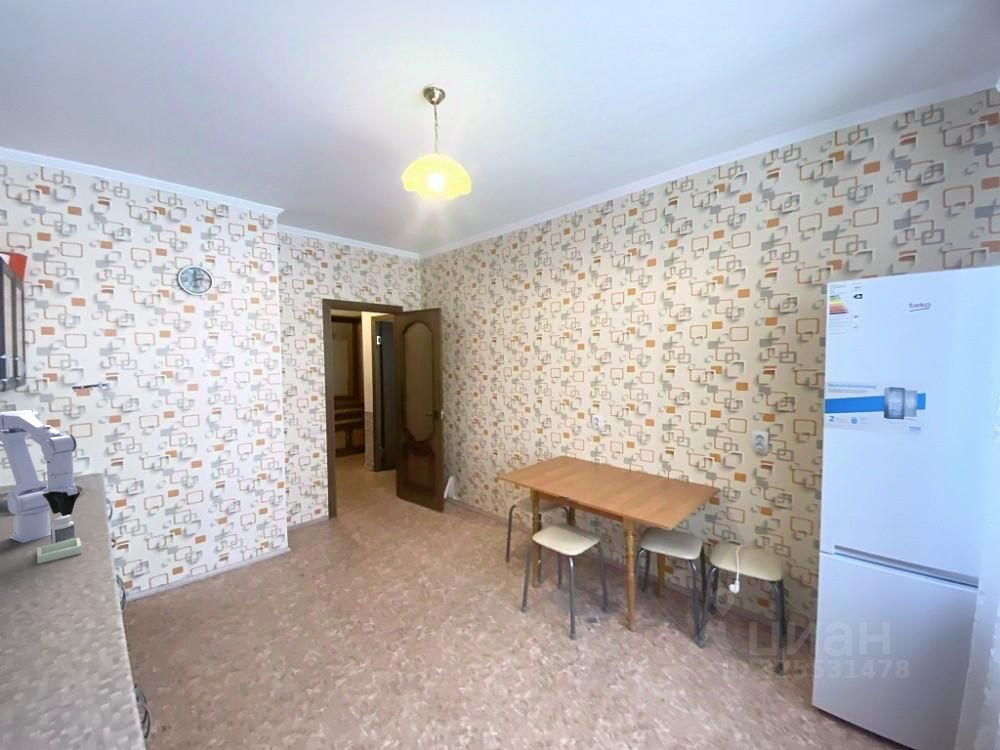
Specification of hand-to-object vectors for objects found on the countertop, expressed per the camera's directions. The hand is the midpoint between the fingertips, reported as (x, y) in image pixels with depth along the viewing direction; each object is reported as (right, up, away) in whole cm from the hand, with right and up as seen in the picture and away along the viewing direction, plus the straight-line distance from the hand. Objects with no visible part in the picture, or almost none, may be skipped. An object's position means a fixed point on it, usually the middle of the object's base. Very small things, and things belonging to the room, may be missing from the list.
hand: (62, 513), depth 131 cm
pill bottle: (0, -10, 0) cm, 10 cm away
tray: (+7, -10, -7) cm, 14 cm away
